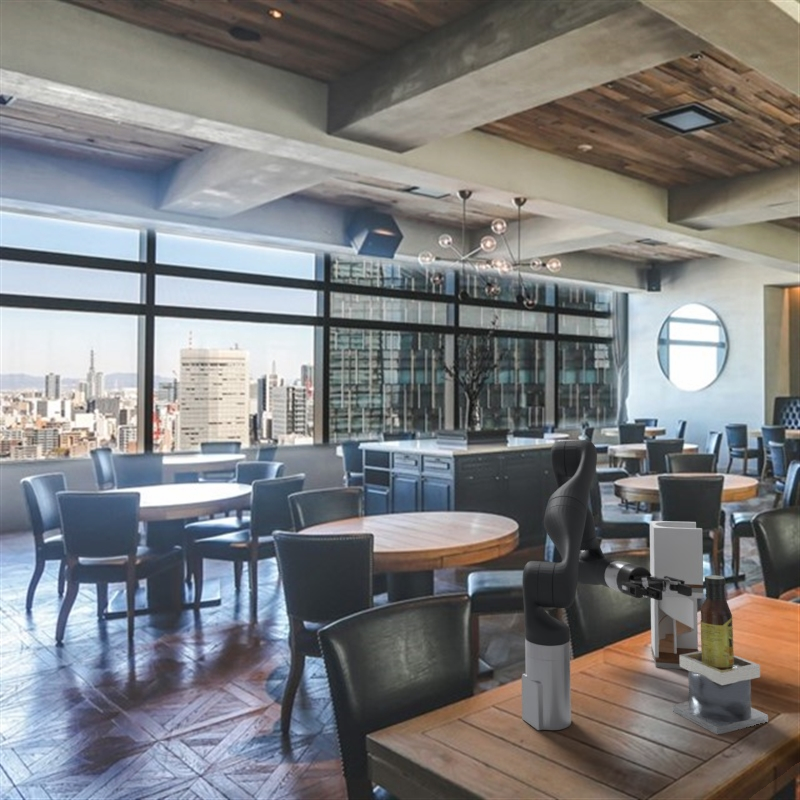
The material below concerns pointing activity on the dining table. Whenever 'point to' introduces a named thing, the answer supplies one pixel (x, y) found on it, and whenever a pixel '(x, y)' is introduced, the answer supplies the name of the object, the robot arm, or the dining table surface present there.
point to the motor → (720, 695)
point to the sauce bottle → (716, 626)
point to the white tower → (675, 614)
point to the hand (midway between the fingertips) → (676, 593)
